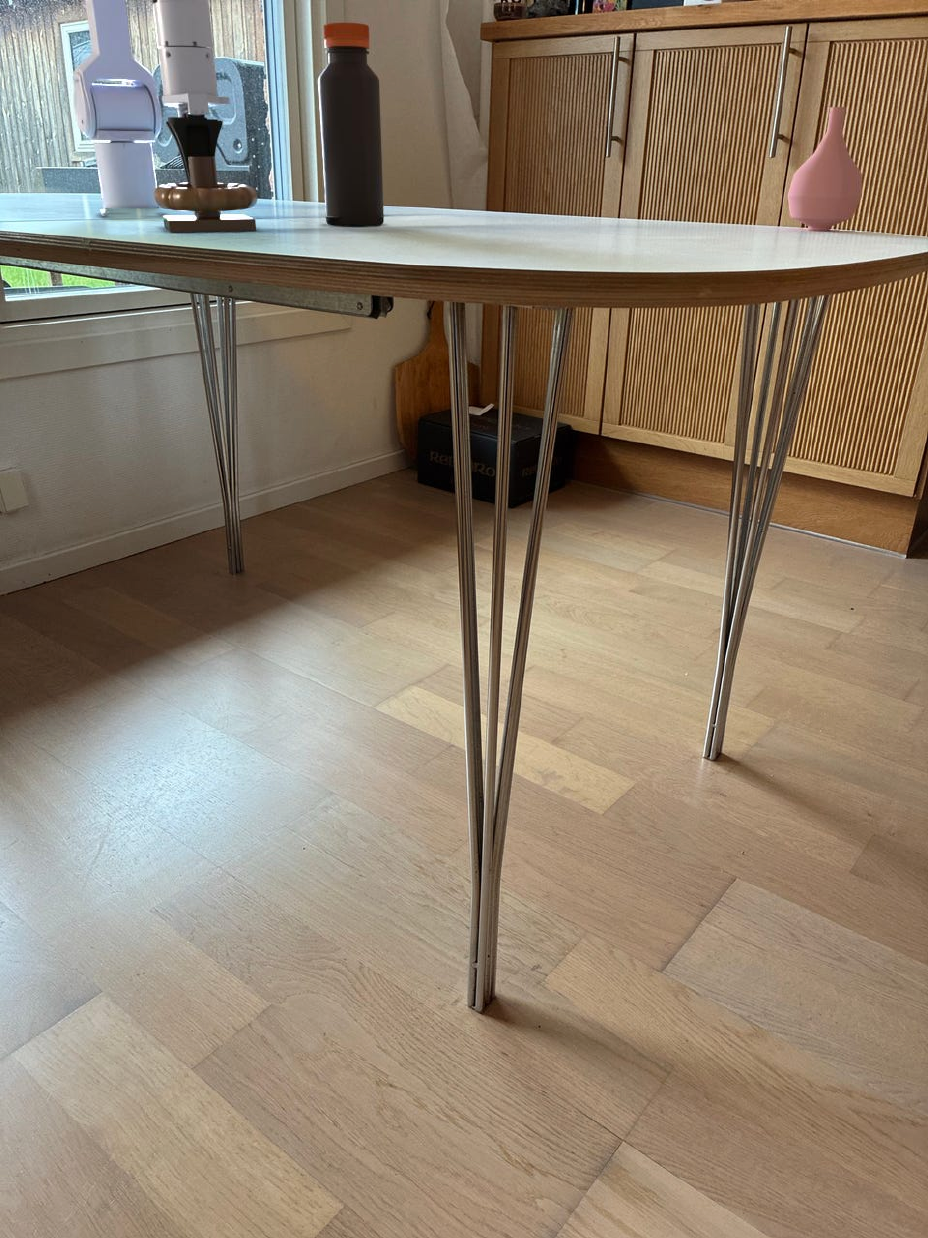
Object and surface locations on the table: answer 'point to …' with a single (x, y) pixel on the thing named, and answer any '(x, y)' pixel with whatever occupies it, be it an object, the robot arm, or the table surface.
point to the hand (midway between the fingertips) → (201, 189)
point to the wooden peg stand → (207, 221)
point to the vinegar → (350, 129)
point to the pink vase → (826, 181)
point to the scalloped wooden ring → (205, 197)
